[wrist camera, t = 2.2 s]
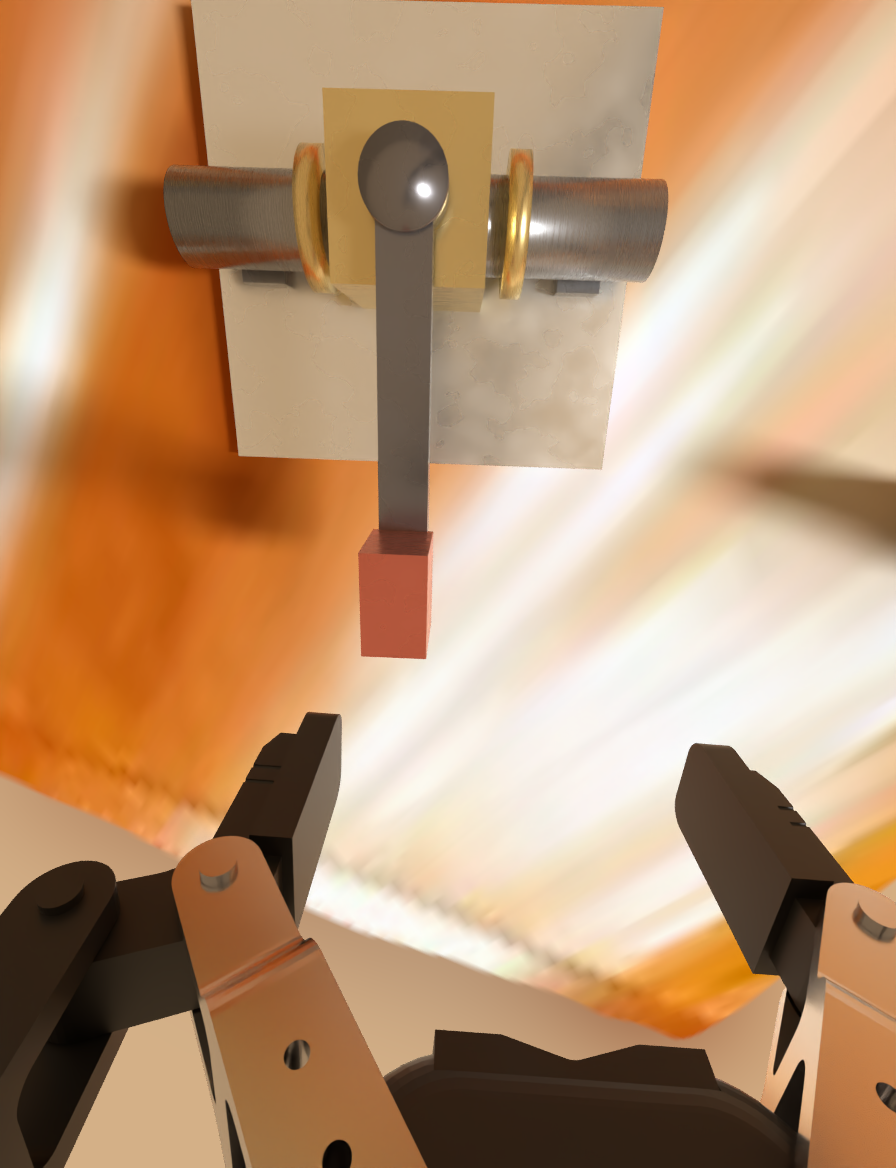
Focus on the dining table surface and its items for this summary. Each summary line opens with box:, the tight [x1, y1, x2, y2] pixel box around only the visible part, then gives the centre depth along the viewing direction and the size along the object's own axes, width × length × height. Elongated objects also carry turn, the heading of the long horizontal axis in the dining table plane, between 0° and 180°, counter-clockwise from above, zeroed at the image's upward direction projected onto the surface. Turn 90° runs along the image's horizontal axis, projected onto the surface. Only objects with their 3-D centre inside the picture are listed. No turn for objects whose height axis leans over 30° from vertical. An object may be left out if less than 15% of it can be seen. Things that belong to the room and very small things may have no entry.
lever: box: [358, 120, 450, 659], centre depth 23 cm, size 21×4×5 cm, turn 178°
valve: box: [164, 0, 668, 470], centre depth 27 cm, size 24×23×10 cm
